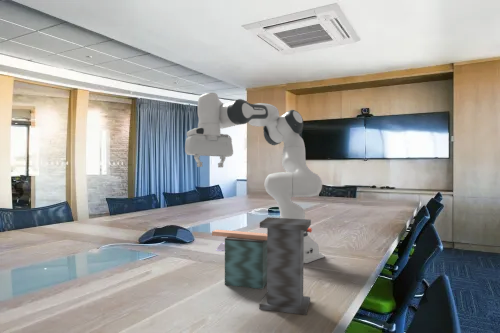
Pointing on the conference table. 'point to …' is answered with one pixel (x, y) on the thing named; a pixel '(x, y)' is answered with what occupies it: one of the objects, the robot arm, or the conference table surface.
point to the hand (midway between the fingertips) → (210, 167)
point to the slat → (240, 234)
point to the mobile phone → (221, 247)
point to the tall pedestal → (285, 265)
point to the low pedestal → (245, 262)
